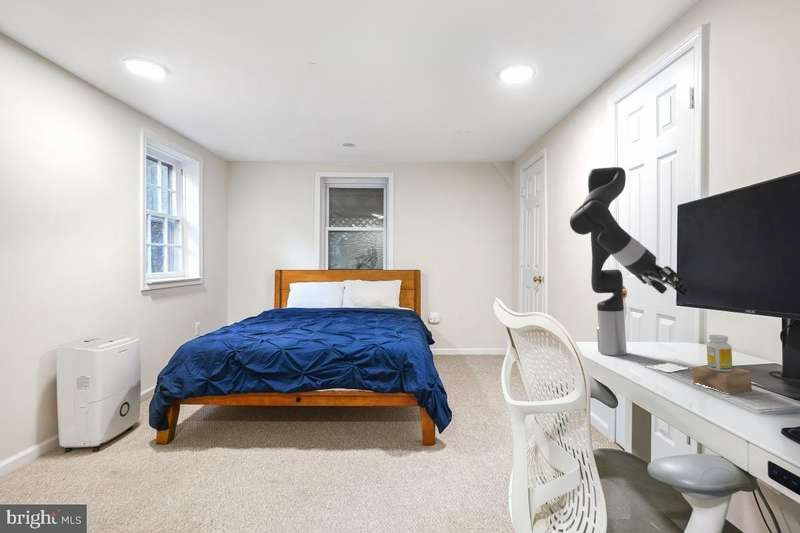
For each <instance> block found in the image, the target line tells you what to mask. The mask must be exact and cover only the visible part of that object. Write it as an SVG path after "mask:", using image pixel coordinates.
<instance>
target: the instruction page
mask: <svg viewBox="0 0 800 533" xmlns="http://www.w3.org/2000/svg"><path fill="white" fill-rule="evenodd" d="M645 368H647V369H652V370H654V371H657V370H656V369H655V368H653V367H651V365H647V366H645Z"/></svg>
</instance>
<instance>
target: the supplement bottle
mask: <svg viewBox="0 0 800 533" xmlns="http://www.w3.org/2000/svg"><path fill="white" fill-rule="evenodd" d="M708 338H709V342H707V344H706V357H707V358H706V361H707V365H708V368H709V369H711V370H714V371H720V372H730V371H732V367H733V354H732V353H733V352H732V346H731V344H730V343H728V341H729V337H728V336H727V335H725V334H723V335H722V334H709V337H708Z"/></svg>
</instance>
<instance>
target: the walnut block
mask: <svg viewBox="0 0 800 533" xmlns="http://www.w3.org/2000/svg"><path fill="white" fill-rule="evenodd" d="M692 379H693V381H692V382H694V383H699V384H701V385H705V386H708V387H711V388H714V389H717V390H719V391H721V392H725V393H731V394H734V392H736V393H740V392H745V391H750V390H753V388H752V387H753V386H752V371H751V370H746V369H742V368H738V367H733V366H732V371H730V372H720V371H714V370H711V369H709V368H708V364H705V365H699V366H694V367H692ZM694 383H693V384H694ZM721 392H720V393H721ZM725 393H724V394H725Z"/></svg>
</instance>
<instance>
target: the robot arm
mask: <svg viewBox="0 0 800 533" xmlns="http://www.w3.org/2000/svg"><path fill="white" fill-rule="evenodd" d="M626 178H627V176H626V171H625V169H624V168H623V167H620V166H619V167H618V166H614V167H613V166H611V167H610V166H609V167H600V168H592V169H591V170H590V171H589V174H588V178H587V184H588V185H587V186H588V195H586V197H585V199H584V201H583V202H582V203H581V205H580V206H578V208H577V209H576V210H575V211H574V212H573V213H572V214H571V216H570V218H569V225H570V228H571V229H572V231H573V232H574V233H576V234H578V235H583V236H584V235H588V234H590V243H591V244H590V245H591V281H590V282H591V283H590V284H591V288H592V291H593V292H594V293H595V294H613V295H612V296H610V297H609V298H607V299H604V300H603V301H599V302H598V303H597V304H596V309H597V310H596V311H597V323H598V327H597V328H596V338H597V339H596V340H597V351H598V352H599V353H601V354H602V355H607V356H614V357H615V356H616V357H617V356H625V355H627V354H628V351H627V338H626V336H627V335H626V324H625V323H626V322H625V307H624V279H623V278H624V277H623V273H622V271H621V270H620V269H603V267H604V265H605V263H606V261H607V260H608V258H610V256H612V257H613V258H614V260H616V261H617V262H618V263H619V264H620V265H622V267H624V268H625V269H626V270H627V271H628V272H629V273H631V274H632V275H634V276H635V277H636V278H637V279H638V280H639V281H641V283H642V284H644V285H648V286H651V287H652V288H654V289H655V290H656V291H657V292H658V293H660V294H664V293H666V291H667V290H668V287H667V286H669V287H671V288H672V289H674V291H676V292H677V293H678V294H679V295H681V296H682V297H686V296H687V295H688V294H689V292H690V289H689V288H687V286H685V284H683V282H684V281H685V279H684V278H683V277H682V276H681V275H679V274H678V273H677V272H676V271H675V270H673V269H672V268H671V267H670V266H668V265H665V266H664V267H661V266H660V265H658V264H657V256H656V255H655V254H653V252H651V250H649V249H648V248H647V247H645V246H644V245H643V244H642V243H641V242H640V241H639V240H637V239H636V238H634V237H633V236H632V235H630V233H628V232H627V231H626V230H625V229H624V228H622V227H621V225H620V224H619V223H618V221H617V220H616V219H615V217H614V216H613V215H612V212H611V210H610V209H609V207H610V205H611V203H612V202H614V201H615V200H616V199H617V198H618V197H619V196H620V195H621V193H623V191H624V189H625V186H626ZM665 285H667V286H665Z"/></svg>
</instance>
